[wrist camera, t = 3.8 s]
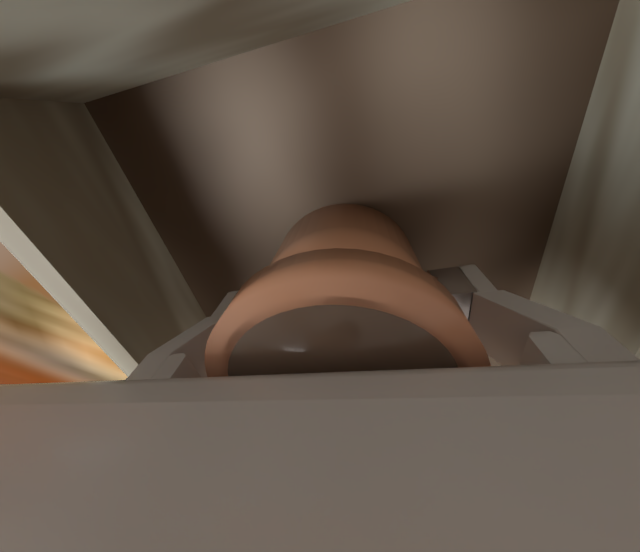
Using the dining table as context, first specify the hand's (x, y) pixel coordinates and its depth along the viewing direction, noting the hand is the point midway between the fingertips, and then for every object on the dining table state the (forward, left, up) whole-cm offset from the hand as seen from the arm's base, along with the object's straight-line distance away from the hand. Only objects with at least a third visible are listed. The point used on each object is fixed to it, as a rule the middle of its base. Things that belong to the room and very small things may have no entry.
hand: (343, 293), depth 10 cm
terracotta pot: (0, 0, -2) cm, 2 cm away
